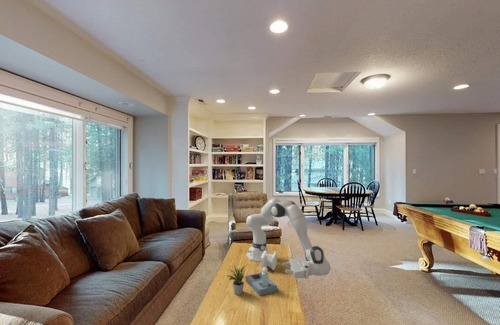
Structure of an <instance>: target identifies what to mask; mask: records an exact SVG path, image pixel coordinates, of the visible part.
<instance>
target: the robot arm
mask: <svg viewBox="0 0 500 325" xmlns="http://www.w3.org/2000/svg"><path fill="white" fill-rule="evenodd" d="M273 217H274V218H283V217H288V219H289V221H290V224H291V226H292V227H293V229H294V231H295V232H296V234H297V237H298V239H299V242H300V243H301V245H302V248H303V251H304V257H305V260H300V259H294V258H290V259H288V261H287V262H283V263H282V266H283V267H289V268H290V269H289V268H285V269H284V273H285V274H289V275H292V276H293V278H295V279H305V280H308V279H309V276H320V277H322V276H327V275H329V274H330V272H331V264H330V262H329V261H328V260H327V258H326V256H325V253H324V250H323V248H321V247H320V246H318V245H314V246H313V245H312V243H311V241H310V238H309V236H308V228H309V223H308V220H307V218H306V217H307V216H306V215H305V213H304V212H303V210H302V209H301V208H300V207H299V205H298V204H296V203H295V201H293V200H285V201H281V200H280V199H279V198H278V197H272V198H271V199H269V200H268V201H267V202H266V203H265V204H264V205H263V206H262V207H261V208H260V213H254V214H250V215H247V218H245V219H246V225H247V226H248V228H250V229H251V231H252V238H253V239H252V243H251V245H250V247H249V248H248V250H247V253H246V254H245V255H246V256H247V258H248V260H249V261H254V262H261V256H262V254H263V252H264V251H267V254H269V250H268V247H267V244H268V243H267V233H266V232H265V231H264V230H262V229H263V228H262V227H264V226H268V225H270V224H272V223H273V219H274V218H273Z"/></svg>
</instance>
